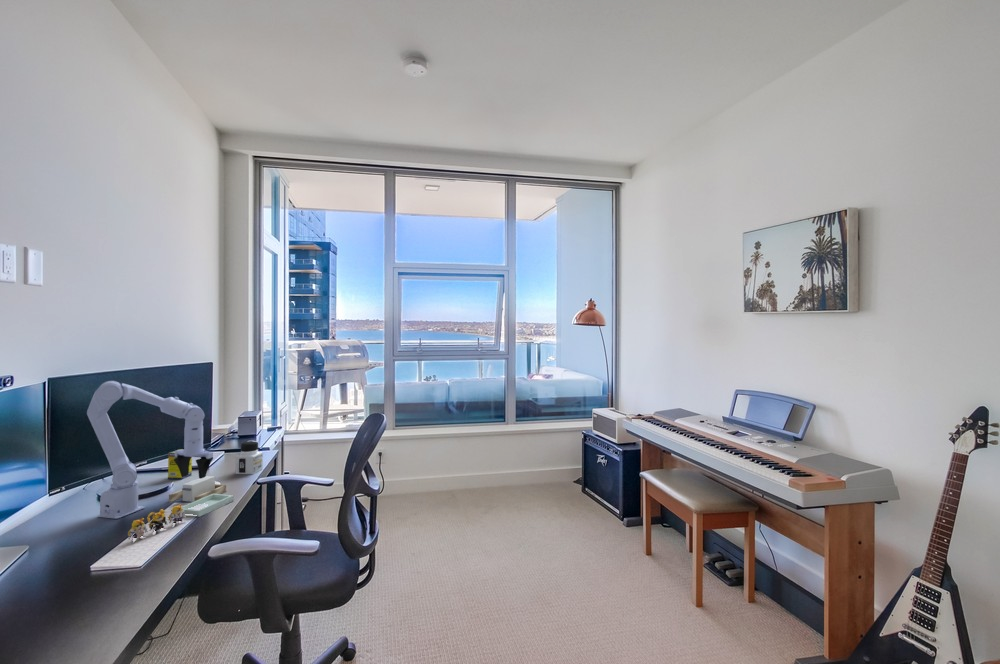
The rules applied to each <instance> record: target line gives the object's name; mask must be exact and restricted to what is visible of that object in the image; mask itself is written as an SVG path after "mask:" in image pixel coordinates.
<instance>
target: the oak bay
mask: <svg viewBox="0 0 1000 664" xmlns="http://www.w3.org/2000/svg"><path fill="white" fill-rule="evenodd" d="M224 493H227V485H226V484H219V483H215V489H213V490H211V491H208V492H206V493H204V494H201V495H199V496H196V497H194V501H197V500H199V499H201V498H204V497H206V496H208V495H211V494H224ZM179 499H183V490H182V489H180V490H178V491H175V492H173V493H170V494H168V502H169V503H172V502H174V501H177V500H179ZM194 501H193V502H194Z"/></svg>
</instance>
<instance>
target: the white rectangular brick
mask: <svg viewBox="0 0 1000 664" xmlns="http://www.w3.org/2000/svg"><path fill="white" fill-rule="evenodd" d="M215 484H216V476H215V475H214V476H212V475H211V476H210V475H206V477H204V478H201V479H200V478H199V477H198V478H196V479H193V480H190V481H189V482H186V483H182V489H181V490H183V497H182V502H190V503H192V502H194V497H196V496H199V495H201V494H204V493H206V492H208V491H211V490H213V489H215Z"/></svg>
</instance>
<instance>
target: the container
mask: <svg viewBox="0 0 1000 664" xmlns="http://www.w3.org/2000/svg"><path fill="white" fill-rule="evenodd" d="M263 458H264V453H263V451H259V442H258V441H256V440H247V441H243V442H241V443H240V454H237V455H236V456H235V475H254V474H256V473H258V472H260V471H261V470H263V468H264V467H263V465H264V463H263Z"/></svg>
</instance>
